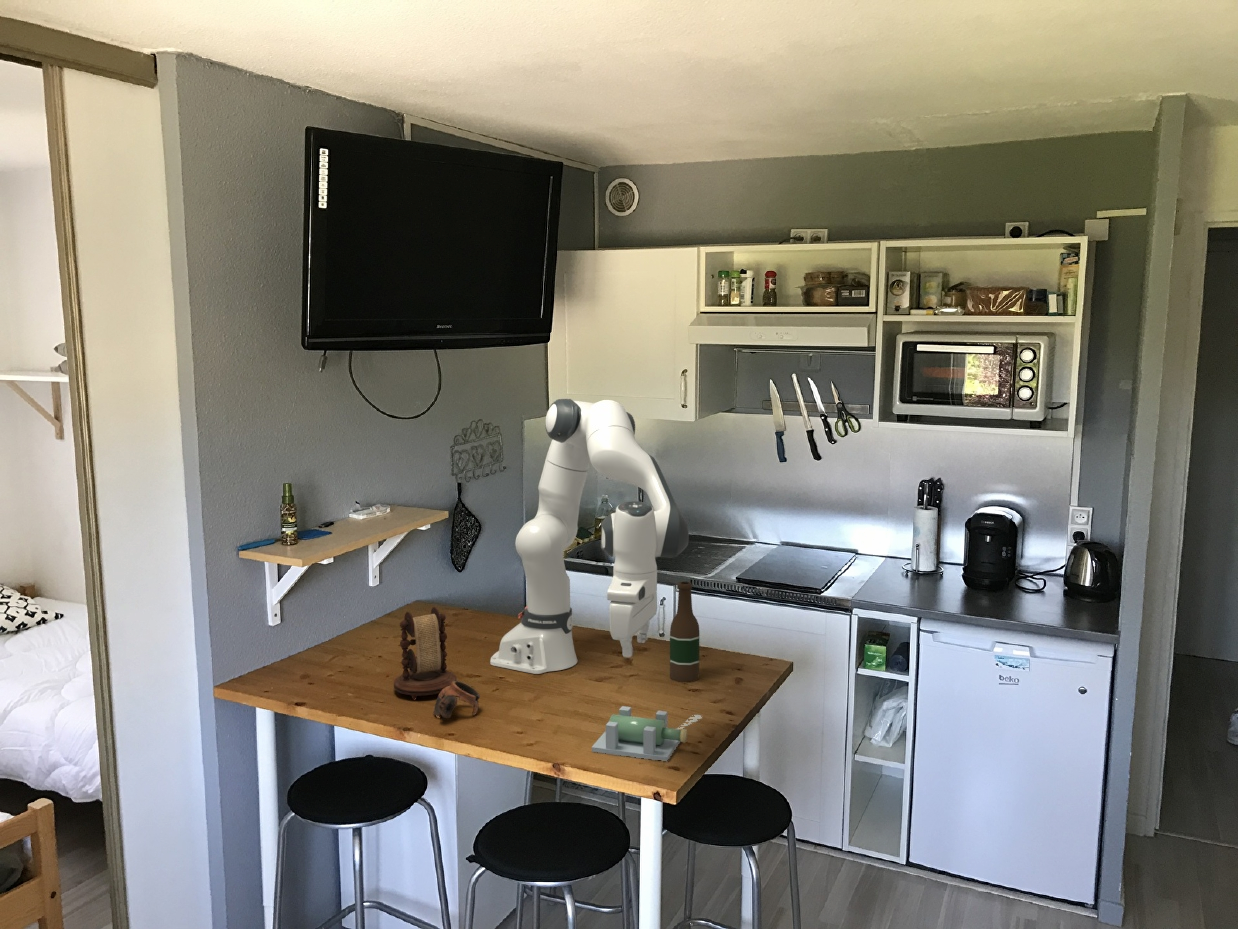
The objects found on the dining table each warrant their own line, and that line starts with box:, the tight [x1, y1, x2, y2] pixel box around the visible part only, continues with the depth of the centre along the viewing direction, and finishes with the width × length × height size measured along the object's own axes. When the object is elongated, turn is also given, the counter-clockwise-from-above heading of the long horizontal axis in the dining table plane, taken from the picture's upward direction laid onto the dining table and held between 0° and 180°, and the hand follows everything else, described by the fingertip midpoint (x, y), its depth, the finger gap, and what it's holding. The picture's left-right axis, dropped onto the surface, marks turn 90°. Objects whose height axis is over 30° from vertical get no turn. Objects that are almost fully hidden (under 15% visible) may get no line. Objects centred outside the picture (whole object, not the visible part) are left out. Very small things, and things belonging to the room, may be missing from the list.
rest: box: [591, 705, 681, 762], centre depth 205 cm, size 16×11×6 cm
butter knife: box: [676, 714, 703, 729], centre depth 211 cm, size 1×24×3 cm
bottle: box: [608, 713, 688, 746], centre depth 204 cm, size 16×5×5 cm, turn 71°
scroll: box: [393, 606, 457, 700], centre depth 236 cm, size 15×15×20 cm
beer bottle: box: [669, 580, 700, 683], centre depth 243 cm, size 8×8×24 cm
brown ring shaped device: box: [433, 680, 481, 719], centre depth 221 cm, size 12×10×8 cm
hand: (635, 648), depth 202 cm, fingers open, 8 cm apart
